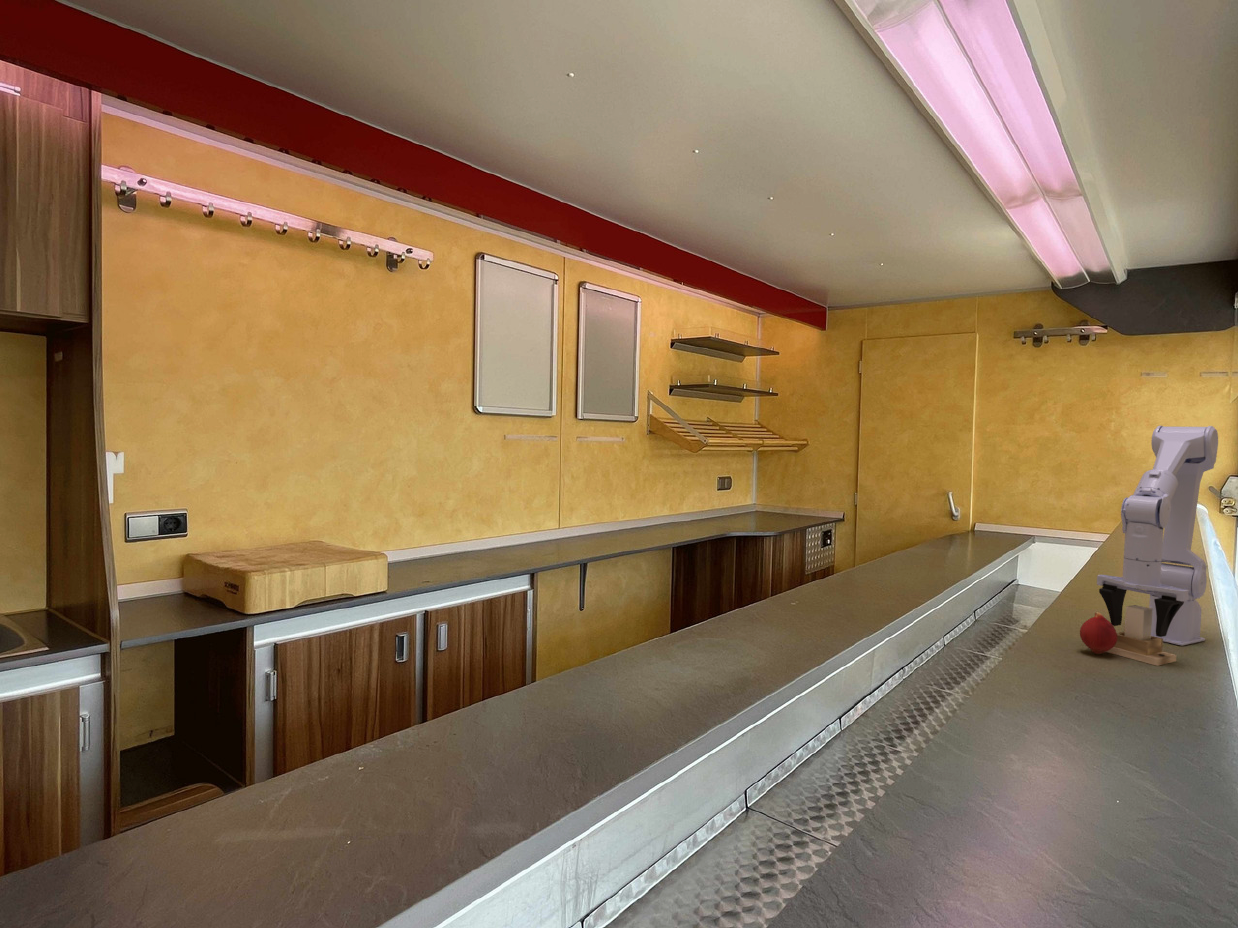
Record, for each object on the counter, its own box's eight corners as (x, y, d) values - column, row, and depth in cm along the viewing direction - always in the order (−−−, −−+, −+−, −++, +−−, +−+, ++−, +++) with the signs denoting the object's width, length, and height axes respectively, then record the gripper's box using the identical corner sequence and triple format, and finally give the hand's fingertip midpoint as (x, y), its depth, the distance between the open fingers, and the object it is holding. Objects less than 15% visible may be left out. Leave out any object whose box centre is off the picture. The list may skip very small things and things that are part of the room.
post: (1132, 645, 134) (1134, 604, 133) (1150, 650, 131) (1152, 608, 131) (1123, 647, 132) (1126, 606, 132) (1141, 652, 130) (1143, 610, 129)
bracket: (1117, 645, 138) (1118, 627, 138) (1176, 661, 129) (1177, 641, 129) (1098, 649, 135) (1099, 630, 135) (1157, 665, 126) (1158, 645, 126)
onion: (1104, 650, 135) (1107, 609, 134) (1123, 659, 129) (1125, 617, 129) (1072, 648, 135) (1075, 607, 135) (1089, 657, 130) (1092, 615, 129)
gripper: (1089, 553, 136) (1085, 622, 136) (1175, 567, 123) (1171, 643, 123) (1110, 551, 139) (1106, 619, 139) (1196, 565, 126) (1191, 639, 126)
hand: (1138, 630), depth 132 cm, fingers open, 7 cm apart
